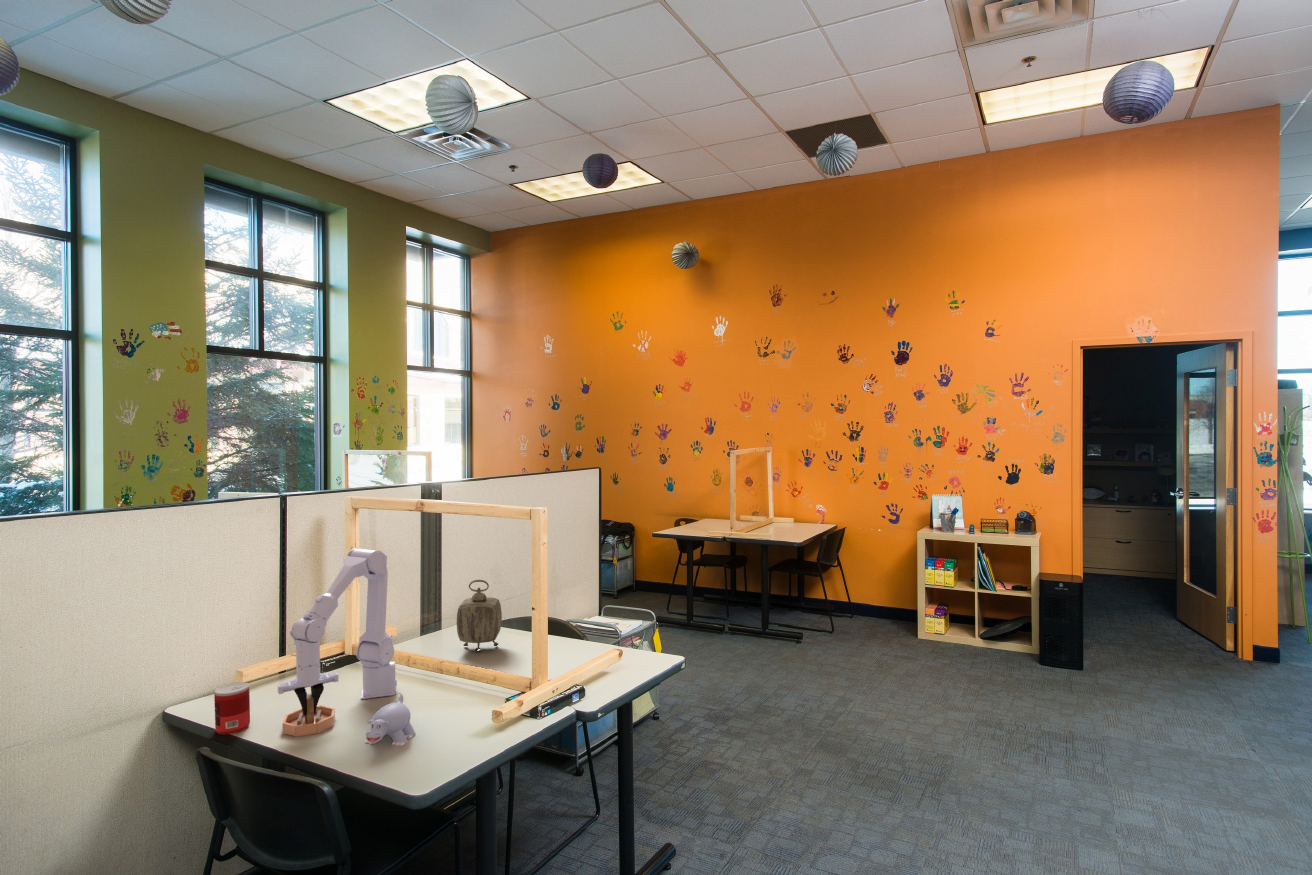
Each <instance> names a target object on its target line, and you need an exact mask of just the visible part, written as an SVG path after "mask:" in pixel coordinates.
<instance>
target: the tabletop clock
mask: <svg viewBox="0 0 1312 875" xmlns="http://www.w3.org/2000/svg"><path fill="white" fill-rule="evenodd" d="M477 582H479V583H483V584H486V585H487V587H486V588H484V589H481V587H477V589H475V588H474V589H473V588H471V585H472V584H473V583H477ZM489 587H490V586H489V583H488V582H487V581H486V580H483V579H475V580H472V581H470V582H469V584H468V589H469V590H470V591H472V592H475V593H473V594H472V596H471V597H469V598H466V599H464V600H463V601H462V602H461V603H460V604H459V606H458V608H457V613H456V632H457V637H458V639H459V641H460V642H463V647H464V646H468V647H469V644H468V643H470V644H471V643H472V644H477V647H476V649H477V650H478V649H481V647H480V644H482V643H490V642H491V643H492V642H493V647H494V646H497V645H498V646H499V643H498V642H496V639H497V638H498V635H499V634H500V631H501V629H502V628H501V627H502V619H503V614H502V604H501V602H500V599H498V598H496V597H492V596H490V597H488V596H487V595H486V594H485V593H484V592H485V591H487V590H488V589H489ZM498 646H497V647H498ZM476 649H475V650H476Z"/></svg>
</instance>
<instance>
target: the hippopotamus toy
mask: <svg viewBox="0 0 1312 875" xmlns="http://www.w3.org/2000/svg"><path fill="white" fill-rule="evenodd" d="M398 695H399V697H398V701H397V702H392V703H389V704H386V705H384V706H382V707H381V708H379V709H378V710H377V711H376V712H375V713H374V714H373V716H372V719H368V720H367V724H368V725H369V724H371V725H370V728H369V729H368V730H367V731H366V733H365V741H364V743H365V744H369V745H373V744H374V745H375V744H378V742H380V741H381V740H382V739H383V737H386V736H390V737H391V740H392V746H395V747H398V746H400V747H403V746H405V745H406V744H407V743H408V742H409V741H408V739H412V738H413V737H414V736H416V732H415V730H414V727H413V726H412V723H411V722H410V721H411V712H410V711H411V710H410V709H409V708H408V706H406V704H404V695H403V694H402V693H401V692H400V693H398Z"/></svg>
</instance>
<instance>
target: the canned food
mask: <svg viewBox="0 0 1312 875" xmlns="http://www.w3.org/2000/svg"><path fill="white" fill-rule="evenodd" d="M213 695H214V725H215V726H214V727H215V728H214V729H215V732H216V733H217V734H218V735H233V734H236V733H239V732H240V733H241V732H242V731H244V730H246V729H247V728H248V727H249V726H250V725H251V724H250V723H251V714H250V713H251V706H250V705H251V702H250V700H251V698H250V696H251V695H250V684H249V683H247V682H231V683H227V684H224V685H222V686H218V687H217V688H216V689H215V690H214V694H213Z"/></svg>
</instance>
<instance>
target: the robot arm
mask: <svg viewBox="0 0 1312 875" xmlns="http://www.w3.org/2000/svg"><path fill="white" fill-rule="evenodd" d="M387 560H388V556H387V555H386V554H385V553H384V552H383V551H382V550H378V549H377V550H376V549H374V550H373V549H366V548H365V549H364V548H358V547H354V548H352V549H350V551H349V552H348V553H347V554H346V556H345V557H344V558H343V566H342V567H341V569H340V571H339V573H338V574H337V575H336V578H335V579H334V580H333V583H332V584H331V585H330V587H329V588H328V590H327V592H326V593H325V592H324V593H322V594H320V595H318V596H316V598H315V599H314V602H313V603H312V605H311V606H310V608H309V609H308V610H307V612H306V613H305V614H304V616H303V617H302V618H301V617H300V619H298V620H296V621H295V622H294V623H293V624H292V628H291V631H289V634H290V637H291V638H292V639H293V642H294V646H295V658H296V659H295V666H296V667H295V668H296V679H294V680H290V681H287V682H284V683H283V682H282V683H281V684H280V683H279V684H278V685H277V693H278V695H282V694H284V693H286V692H291V691H294V693H295V695H296V697H297V698H298V701H299V703H300V706H301V708H302V711H303V715H304V716H306V715H307V705H306V700H307V694H308V693H307V691H306V688H310V694H311V695H312V697H313V701H314V714H315V713H316V708H317V706H318V704H319V701H320V698H321V696H322V694H323V692H324V688H325V687H324V685H325V684H328V683H333V682H334V683H336V682H337V683H338V682H339V673H338V672H332V673H322V674H321V646H320V643H321V641H320V640H321V639H322V637H324V634H325V631H326V626H327V623H328V621H329V620H330V618H331V616H332V615H333V613H334V612H335V611H336V609H337V608H338V606H339V602H338V600H339V598H340V597H341V595H342V594H344V593H345V591H346V590H347V589H348V587H349V586H350V585H351V584H352V582H353V581H354V580H355V579H357V578H360V577H365V578H366V579H367V592H366V593H367V594H366V617H365V618H366V619H365V632H364V633H363V634H362V635H360V636H359V640H358V645H357V647H356V651H355V653H356V654H355V656H356V658H357V660H359V661H360V665H361V666H362V688H361V696H360V699H361V700H366V699H372V698H373V699H375V698H380V697H388V696H395V695H396V690H397V689H396V688H397V684H398V682H397V681H398V680H397V679H396V674H397V673H396V661H392V659H393V657H394V654H395V647H394V644H393V637H392V636H391V635H390V633H388V631H386V626H387V625H386V622H387V620H386V619H387V602H388V601H387V600H388V599H387V597H388V580H389V578H388V576H389V572H388V567H387V563H388V562H387Z"/></svg>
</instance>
